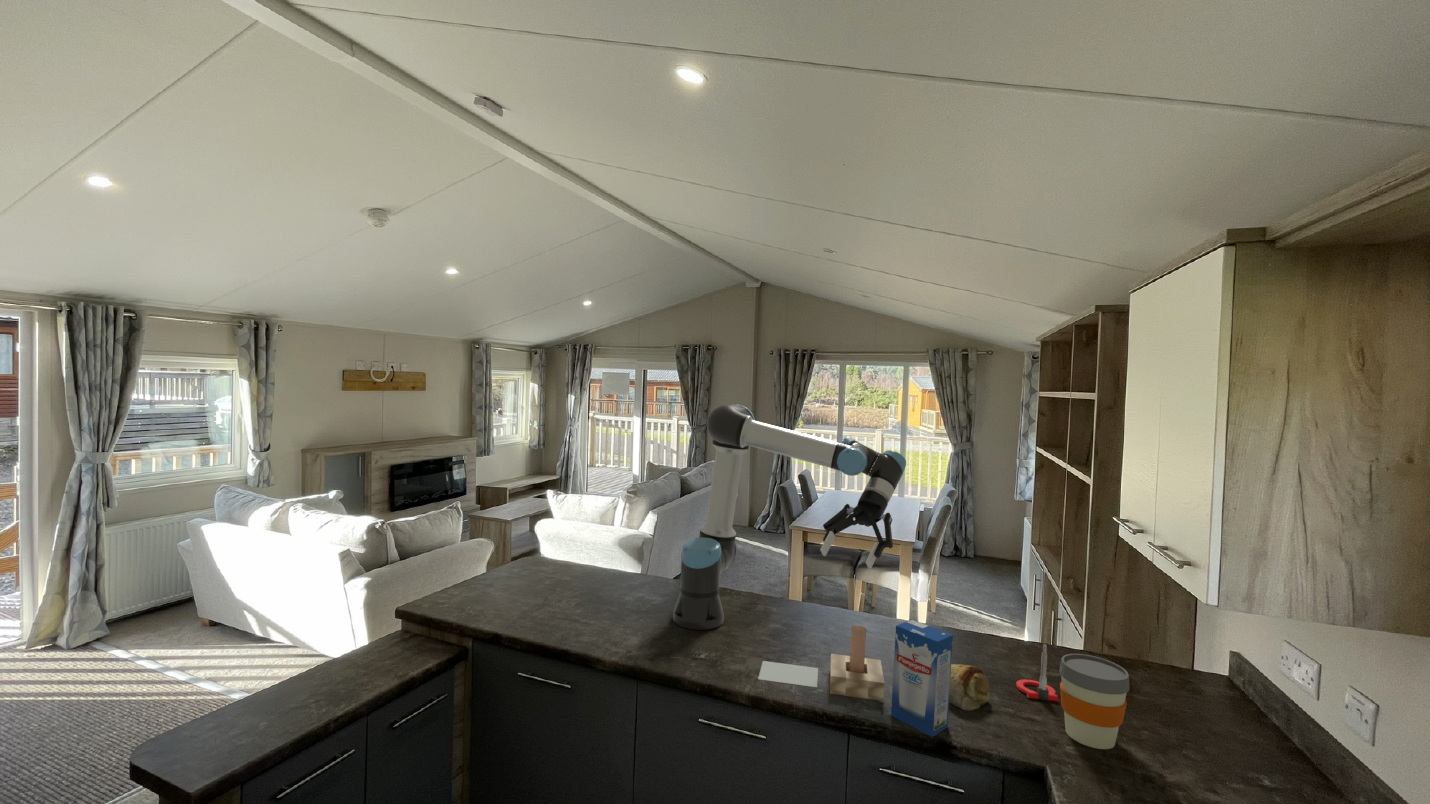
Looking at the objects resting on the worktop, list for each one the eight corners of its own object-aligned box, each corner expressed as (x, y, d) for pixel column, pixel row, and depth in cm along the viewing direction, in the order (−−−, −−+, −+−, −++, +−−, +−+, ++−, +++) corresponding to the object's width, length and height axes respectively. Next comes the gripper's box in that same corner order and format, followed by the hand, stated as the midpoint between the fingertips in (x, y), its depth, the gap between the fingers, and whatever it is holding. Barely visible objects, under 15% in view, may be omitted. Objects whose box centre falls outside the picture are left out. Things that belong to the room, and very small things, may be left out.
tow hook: (1011, 682, 152) (1024, 699, 142) (1013, 630, 152) (1027, 643, 143) (1047, 686, 150) (1062, 703, 141) (1049, 634, 151) (1065, 648, 141)
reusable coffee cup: (1053, 739, 126) (1057, 668, 126) (1058, 713, 136) (1062, 648, 136) (1125, 762, 119) (1130, 687, 119) (1125, 733, 130) (1129, 664, 129)
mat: (757, 680, 145) (757, 679, 145) (762, 662, 155) (762, 660, 155) (816, 688, 143) (817, 687, 143) (818, 669, 153) (818, 668, 153)
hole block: (829, 694, 140) (830, 675, 140) (830, 671, 152) (831, 653, 152) (883, 702, 138) (884, 683, 138) (879, 677, 150) (880, 659, 150)
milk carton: (890, 715, 132) (895, 625, 132) (906, 706, 136) (911, 619, 136) (932, 737, 125) (937, 641, 124) (948, 727, 129) (953, 634, 128)
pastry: (988, 717, 134) (990, 681, 134) (928, 702, 139) (930, 667, 139) (990, 689, 147) (992, 657, 146) (935, 676, 152) (937, 645, 152)
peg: (848, 688, 144) (851, 630, 143) (848, 681, 147) (851, 624, 147) (863, 690, 143) (866, 631, 143) (862, 683, 146) (865, 626, 146)
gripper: (921, 514, 165) (892, 579, 155) (840, 497, 182) (809, 555, 171) (914, 497, 161) (884, 563, 151) (833, 481, 178) (800, 540, 167)
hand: (844, 559), depth 161 cm, fingers open, 13 cm apart
